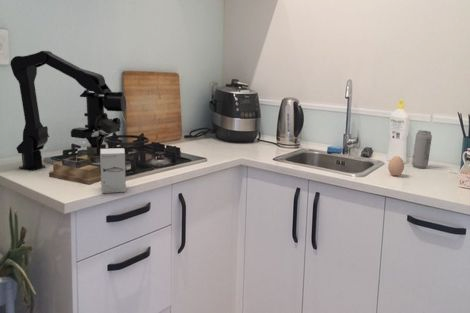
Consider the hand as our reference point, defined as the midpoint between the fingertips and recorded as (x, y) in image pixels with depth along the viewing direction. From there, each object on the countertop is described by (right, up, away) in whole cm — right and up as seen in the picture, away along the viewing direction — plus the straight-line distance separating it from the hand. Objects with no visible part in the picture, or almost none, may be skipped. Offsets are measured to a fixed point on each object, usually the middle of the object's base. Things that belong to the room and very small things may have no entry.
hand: (97, 153), depth 150 cm
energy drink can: (+126, -6, +24) cm, 128 cm away
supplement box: (+11, -12, -18) cm, 24 cm away
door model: (-3, -7, -4) cm, 9 cm away
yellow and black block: (-2, -3, -4) cm, 5 cm away
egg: (+110, -8, +9) cm, 111 cm away
